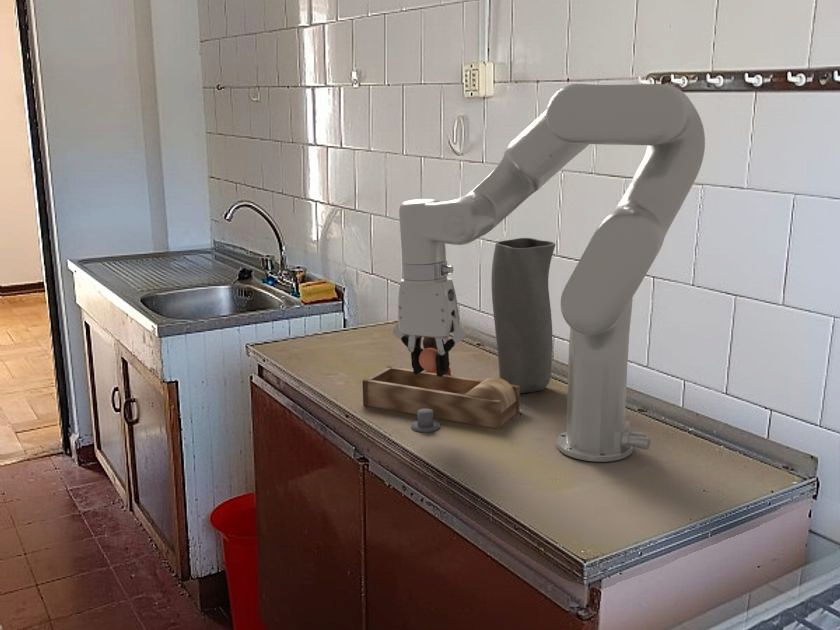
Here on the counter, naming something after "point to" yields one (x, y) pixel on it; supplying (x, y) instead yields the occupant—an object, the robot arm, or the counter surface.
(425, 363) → the ball
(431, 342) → the figurine
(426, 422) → the stand
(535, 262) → the vase
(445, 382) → the wooden trough
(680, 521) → the counter surface
